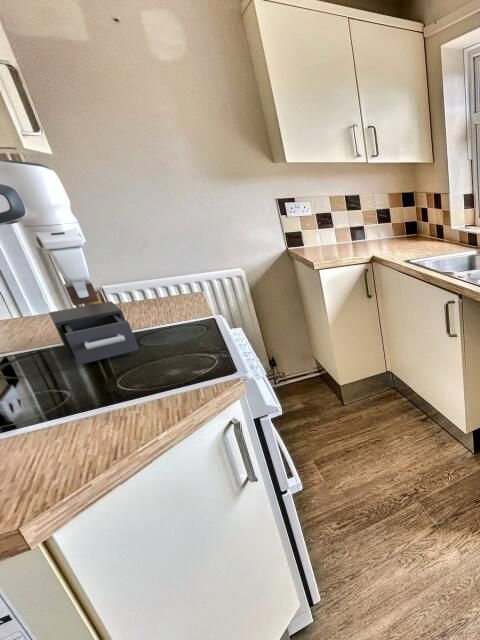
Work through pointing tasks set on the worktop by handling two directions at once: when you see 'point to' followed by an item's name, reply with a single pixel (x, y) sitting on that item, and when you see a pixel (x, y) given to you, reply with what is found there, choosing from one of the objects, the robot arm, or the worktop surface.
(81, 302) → the block
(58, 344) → the worktop surface
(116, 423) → the worktop surface
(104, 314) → the cabinet
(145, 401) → the worktop surface
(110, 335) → the drawer
